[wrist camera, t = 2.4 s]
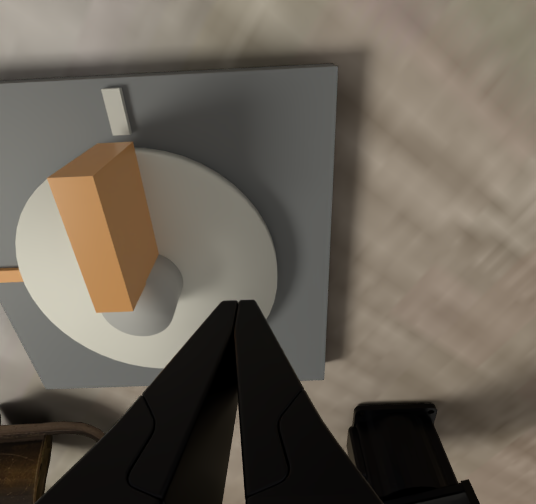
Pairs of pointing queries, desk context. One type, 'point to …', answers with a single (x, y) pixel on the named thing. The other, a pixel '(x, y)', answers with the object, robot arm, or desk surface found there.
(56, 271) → the dial
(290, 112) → the dial board
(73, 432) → the brown curved looped piece
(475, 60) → the desk surface
